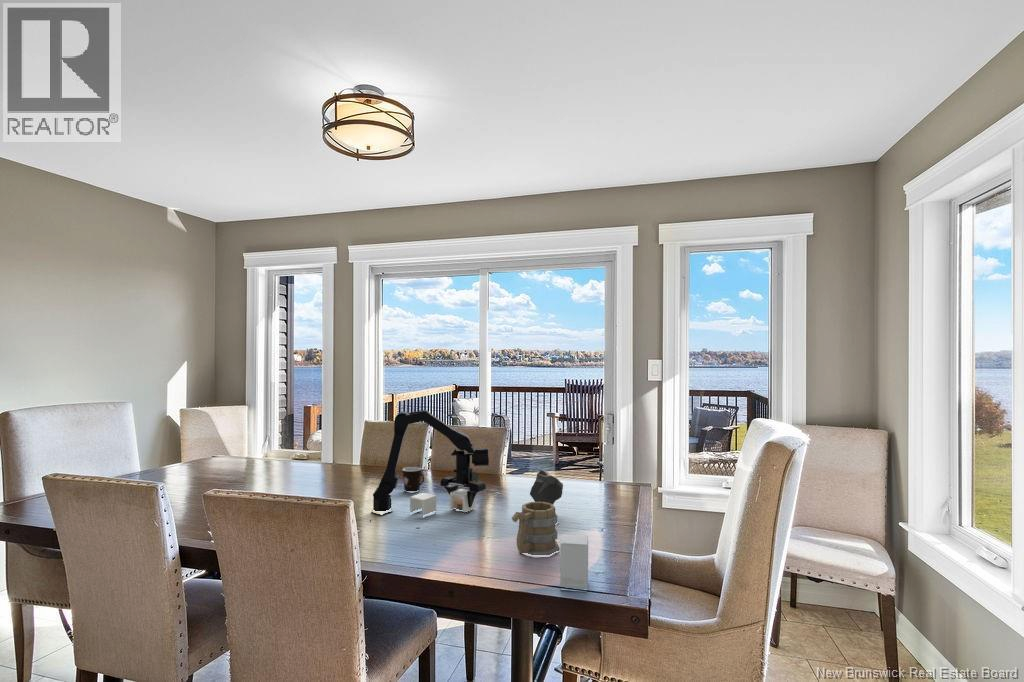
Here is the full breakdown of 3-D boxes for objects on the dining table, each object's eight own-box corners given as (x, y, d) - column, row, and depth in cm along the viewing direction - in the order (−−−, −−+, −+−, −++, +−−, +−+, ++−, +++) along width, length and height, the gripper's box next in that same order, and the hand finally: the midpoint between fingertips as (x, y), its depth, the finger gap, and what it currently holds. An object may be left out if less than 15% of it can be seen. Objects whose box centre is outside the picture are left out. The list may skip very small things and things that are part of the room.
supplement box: (587, 593, 137) (587, 544, 137) (559, 591, 138) (559, 542, 138) (588, 581, 144) (588, 535, 144) (561, 578, 145) (561, 533, 146)
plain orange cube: (463, 513, 204) (463, 502, 204) (455, 511, 206) (455, 501, 206) (469, 510, 208) (469, 500, 208) (461, 508, 210) (461, 498, 210)
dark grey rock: (570, 513, 203) (570, 467, 204) (557, 525, 190) (557, 475, 190) (536, 508, 209) (536, 463, 210) (521, 520, 195) (521, 471, 196)
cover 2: (464, 513, 202) (464, 495, 202) (449, 510, 206) (450, 492, 206) (475, 508, 208) (475, 491, 208) (460, 505, 212) (461, 488, 212)
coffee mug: (400, 490, 237) (400, 468, 237) (418, 488, 240) (419, 466, 241) (406, 496, 226) (406, 473, 226) (425, 494, 230) (425, 471, 230)
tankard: (534, 540, 175) (534, 495, 175) (566, 549, 167) (566, 502, 167) (495, 558, 160) (495, 509, 160) (528, 569, 152) (528, 517, 152)
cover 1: (423, 518, 197) (424, 499, 197) (409, 515, 201) (409, 496, 201) (436, 513, 203) (436, 495, 203) (422, 510, 207) (422, 492, 207)
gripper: (493, 465, 209) (493, 504, 209) (457, 459, 219) (456, 497, 219) (477, 470, 200) (477, 511, 199) (439, 464, 210) (439, 503, 209)
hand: (462, 505), depth 207 cm, fingers closed on cover 2, 7 cm apart
